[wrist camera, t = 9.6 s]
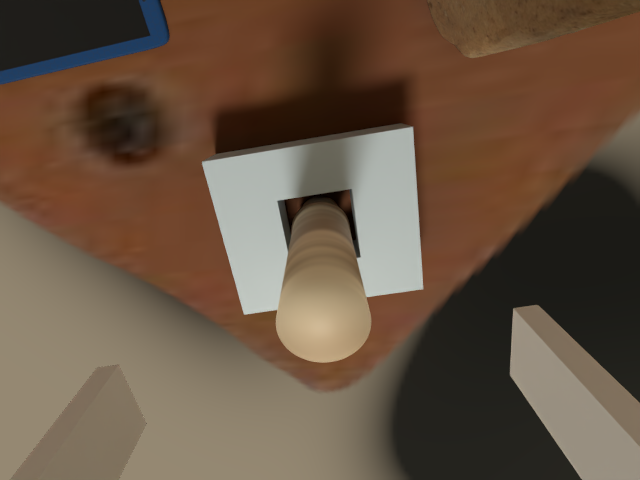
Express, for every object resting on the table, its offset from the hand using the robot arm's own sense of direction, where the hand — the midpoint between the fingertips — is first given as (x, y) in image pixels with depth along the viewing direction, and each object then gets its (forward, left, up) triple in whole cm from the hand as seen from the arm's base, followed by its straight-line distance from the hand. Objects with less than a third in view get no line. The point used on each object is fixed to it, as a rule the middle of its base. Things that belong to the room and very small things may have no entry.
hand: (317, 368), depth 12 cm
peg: (0, 0, -18) cm, 18 cm away
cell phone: (-17, -15, -19) cm, 29 cm away
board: (0, 0, -18) cm, 18 cm away
